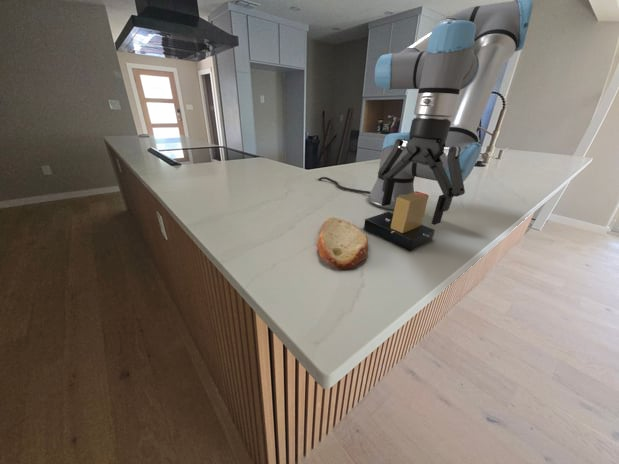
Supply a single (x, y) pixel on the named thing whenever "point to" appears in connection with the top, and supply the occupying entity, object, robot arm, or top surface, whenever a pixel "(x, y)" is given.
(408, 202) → the wooden block
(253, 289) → the top surface
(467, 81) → the robot arm
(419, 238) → the black flat block
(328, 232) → the bread slice
